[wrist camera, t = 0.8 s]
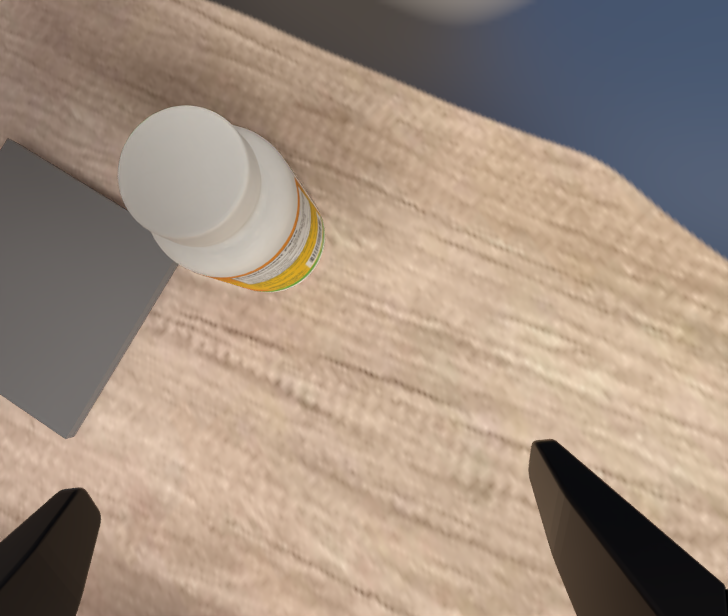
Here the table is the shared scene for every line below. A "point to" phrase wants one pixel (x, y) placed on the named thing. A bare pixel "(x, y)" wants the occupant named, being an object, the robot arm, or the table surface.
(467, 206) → the table surface
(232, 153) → the supplement bottle
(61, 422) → the coaster mat
